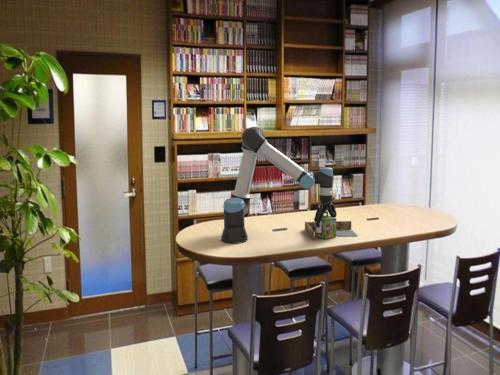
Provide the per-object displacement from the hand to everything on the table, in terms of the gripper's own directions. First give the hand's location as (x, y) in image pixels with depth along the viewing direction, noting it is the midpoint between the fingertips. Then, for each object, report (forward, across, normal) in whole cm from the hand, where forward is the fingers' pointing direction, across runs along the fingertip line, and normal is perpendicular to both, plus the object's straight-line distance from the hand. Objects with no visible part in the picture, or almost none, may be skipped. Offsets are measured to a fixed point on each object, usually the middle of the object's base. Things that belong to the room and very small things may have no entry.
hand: (325, 230), depth 268 cm
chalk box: (+4, 0, 0) cm, 4 cm away
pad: (+4, +13, -6) cm, 14 cm away
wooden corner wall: (+4, +7, 0) cm, 8 cm away
